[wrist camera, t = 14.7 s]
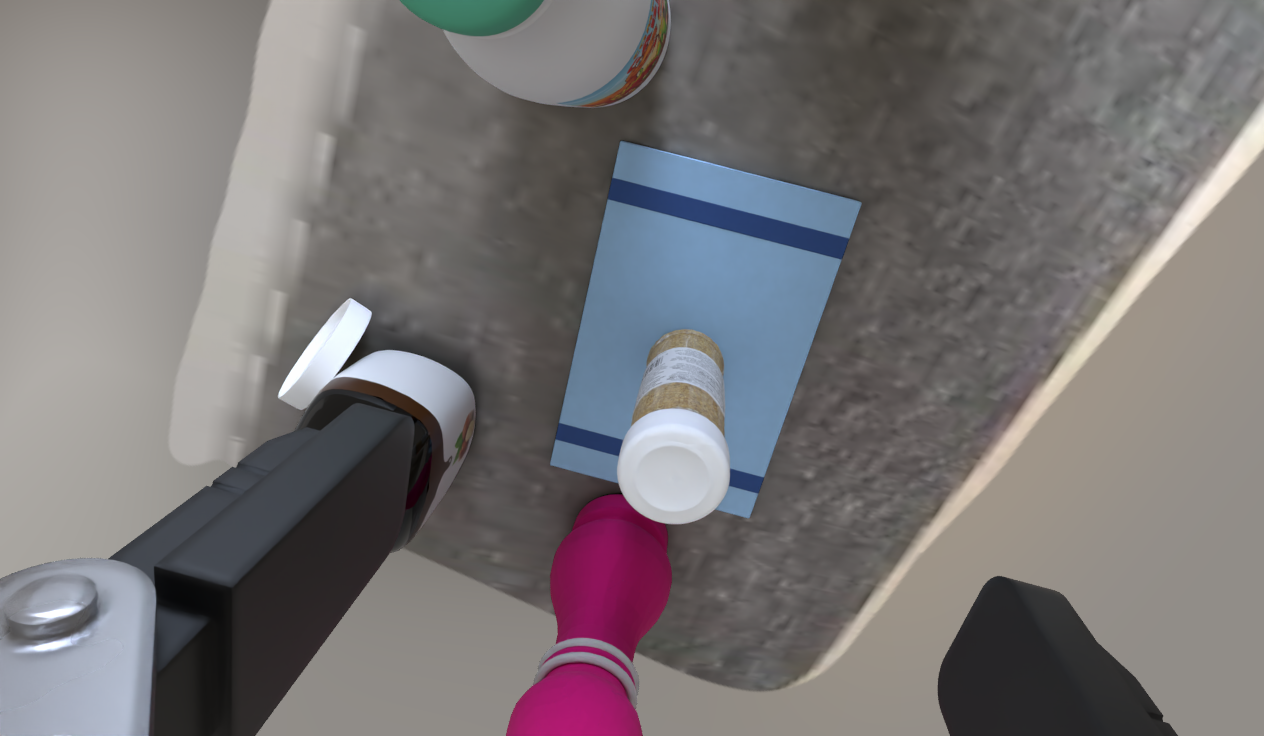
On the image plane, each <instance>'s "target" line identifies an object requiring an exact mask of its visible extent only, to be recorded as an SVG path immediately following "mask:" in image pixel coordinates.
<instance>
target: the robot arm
mask: <svg viewBox="0 0 1264 736" xmlns="http://www.w3.org/2000/svg"><path fill="white" fill-rule="evenodd" d="M413 440H414V422H413V419H412V418H411V417H410V416H406V415H402V414H398V413H395V412H391V411H387V410H383V409H380V408H376V407H372V406H368V405H365V404H361V403H355V404H353V405H351V406H350V407H349V408H348V409H346V410H345V411H344V412H343V413H341V414H340V415H339V416H338V417H336V418H335V419H334V420H333V421H332V422H330V423H329V424H328V425H327V426H325V427H324V428H323V429H322V430H320V431H319V430H315V429H311V428H308V427H305V428H303V429H300V430H297V431H294V432H291V433H289V434H286V435H283V436H280V437H277V438H275V439H272V440H269V441H267V442H265V443H264V444H263V445H261V446H260V447H259V448H257V449H256V450H255V451H253V452H252V453H250V454H249V455H248V456H246V457H245V458H244V459H242V460H241V461H240V462H238V465H237V467H236V468H234V467H232V468H230V469H229V470H227V471H226V472H225V473H224V474H222V475H221V476H219V477H218V478H217V479H215V480H214V481H213V484H212V486H211V487H209V486H206V487H204V488H203V489H202V490H200V491H199V492H198V493H196V494H195V495H194V496H192V497H191V498H190V499H188V500H187V501H186V502H184V503H183V504H182V505H180V506H179V507H177V508H176V509H175V510H173V511H172V512H171V513H169V514H168V515H167V516H165V517H164V518H163V519H161V520H160V521H159V522H157V523H156V524H155V525H153V526H152V527H150V528H149V529H148V530H146V531H145V532H144V533H142V534H141V535H140V536H138V537H137V538H136V539H134V540H133V541H131V542H130V543H129V544H127V545H126V546H125V547H123V548H122V549H121V550H119V551H118V552H117V553H115V554H114V555H113V556H111V557H110V558H109V559H101V558H80V559H67V560H61V561H55V562H49V563H45V564H41V565H37V566H33V567H30V568H27V569H24V570H21V571H18V572H15V573H12V574H10V575H8V576H5V577H3V578H1V579H0V736H255V735H256V734H257V733H258V731H259V730H260V728H261V727H262V726H263V724H264V723H265V721H266V720H267V719H268V717H269V716H270V715H271V714H272V712H273V711H274V709H275V708H276V707H277V705H278V704H279V703H280V701H281V700H282V699H283V697H284V696H285V695H286V693H287V692H288V690H289V689H290V688H291V686H292V685H293V684H294V682H295V681H296V680H297V678H298V677H299V675H300V674H301V673H302V672H303V670H304V669H305V667H306V666H307V665H308V663H309V662H310V661H311V659H312V658H313V656H314V655H315V654H316V653H317V651H318V650H319V648H320V647H321V646H322V644H323V643H324V642H325V640H326V639H327V637H328V636H329V635H330V634H331V632H332V631H333V629H334V628H335V627H336V625H337V624H338V623H339V621H340V620H341V619H342V617H343V616H344V615H345V613H346V612H347V611H348V609H349V608H350V606H351V605H352V604H353V602H354V601H355V600H356V598H357V597H358V596H359V594H360V593H361V591H362V590H363V589H364V587H365V586H366V585H367V583H368V582H369V581H370V579H371V578H372V577H373V575H374V574H375V573H376V571H377V570H378V569H379V567H380V566H381V564H382V563H383V562H384V560H385V559H386V558H387V556H388V555H389V553H390V551H391V550H392V548H393V546H394V544H395V541H396V539H397V537H398V534H399V532H400V529H401V526H402V522H403V518H404V513H405V507H406V498H407V490H408V482H409V474H410V465H411V457H412V449H413ZM938 700H939V705H940V709H941V712H942V715H943V718H944V720H945V723H946V725H947V729H948V731H949V734H950V736H1178V735H1177V734H1176V732H1175V731H1174V730H1173V728H1172V727H1171V726H1170V724H1168V723H1165V722H1163V720H1162V718H1163V715H1162V713H1161V712H1160V711H1159V709H1158V708H1157V706H1156V705H1155V704H1154V702H1153V701H1152V700H1151V698H1150V697H1149V696H1148V694H1147V693H1146V691H1145V690H1144V689H1143V687H1142V686H1141V684H1140V683H1139V682H1138V680H1137V679H1136V678H1135V677H1134V676H1133V675H1132V674H1131V673H1130V672H1129V671H1128V670H1127V669H1125V667H1123V666H1122V665H1121V664H1120V663H1119V662H1118V661H1117V660H1116V659H1115V658H1114V657H1113V656H1112V655H1110V654H1109V653H1108V652H1107V651H1106V650H1105V649H1104V648H1103V647H1102V646H1101V645H1100V644H1098V643H1097V641H1096V640H1095V638H1094V637H1093V635H1092V634H1091V633H1090V631H1089V630H1088V629H1087V627H1086V626H1085V624H1084V623H1083V621H1082V620H1081V618H1080V617H1079V616H1078V614H1077V613H1076V611H1075V610H1074V609H1073V607H1072V606H1071V604H1070V603H1069V601H1068V600H1067V599H1066V598H1065V597H1064V596H1063V595H1062V594H1061V593H1059V592H1057V591H1055V590H1051V589H1047V588H1043V587H1040V586H1036V585H1032V584H1028V583H1024V582H1021V581H1017V580H1013V579H1010V578H1006V577H1002V576H997V577H993V578H991V579H990V580H989V581H988V582H987V583H986V584H985V585H984V586H983V588H982V590H981V591H980V593H979V595H978V597H977V599H976V601H975V602H974V604H973V606H972V608H971V610H970V612H969V613H968V615H967V617H966V619H965V621H964V623H963V625H962V626H961V628H960V630H959V632H958V634H957V636H956V638H955V639H954V641H953V643H952V645H951V647H950V648H949V650H948V652H947V654H946V656H945V658H944V660H943V662H942V665H941V668H940V672H939V678H938Z"/></svg>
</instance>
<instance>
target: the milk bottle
mask: <svg viewBox="0 0 1264 736" xmlns="http://www.w3.org/2000/svg"><path fill="white" fill-rule="evenodd" d="M400 1H401V2H402V4H403V5H405V6H406V7H407V8H408V9H409V10H410V11H411V12H413V13H414V14H415V15H417V16H418V17H420V18H421V19H423V20H424V21H426V22H428V23H430V24H432V25H434V26H437V27H439V28H441V29H443V31H444V33H445V35H446V37H447V39H448V40H449V42H450V43H451V45H452V47H453V48H454V49H455V51H456V52H457V53H458V54H459V56H460V57H461V58H462V59H463V60H464V61H465V63H466V64H467V65H468V66H469V67H470V68H471V69H472V70H473V71H474V72H475V73H477V74H478V75H479V76H480V77H482V78H483V79H484V80H486V81H487V82H488V83H490V84H492V85H493V86H495V87H497V88H498V89H500V90H502V91H504V92H506V93H508V94H510V95H512V96H515V97H518V98H521V99H525V100H529V101H533V102H537V103H541V104H548V105H557V106H567V107H583V108H599V107H606V106H611V105H615V104H618V103H620V102H623V101H625V100H627V99H629V98H631V97H632V96H634V95H635V94H637V93H638V92H639V91H640V90H642V89H643V88H644V87H645V86H646V85H647V84H648V83H649V82H650V80H651V79H652V78H653V77H654V75H655V74H656V72H657V71H658V69H659V67H660V65H661V63H662V61H663V59H664V56H665V53H666V50H667V47H668V43H669V38H670V30H671V14H670V6H669V1H668V0H400Z"/></svg>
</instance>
